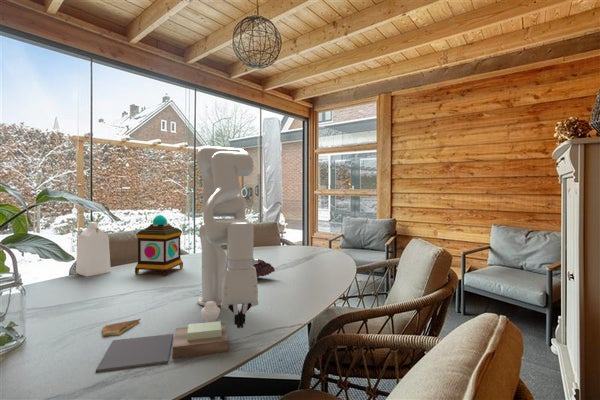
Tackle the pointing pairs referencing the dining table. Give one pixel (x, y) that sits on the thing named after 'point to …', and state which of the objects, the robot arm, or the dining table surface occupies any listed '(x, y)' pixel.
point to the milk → (93, 251)
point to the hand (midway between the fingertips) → (239, 326)
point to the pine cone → (263, 268)
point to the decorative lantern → (159, 246)
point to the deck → (198, 344)
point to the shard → (119, 327)
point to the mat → (136, 352)
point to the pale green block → (204, 330)
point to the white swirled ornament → (210, 312)
